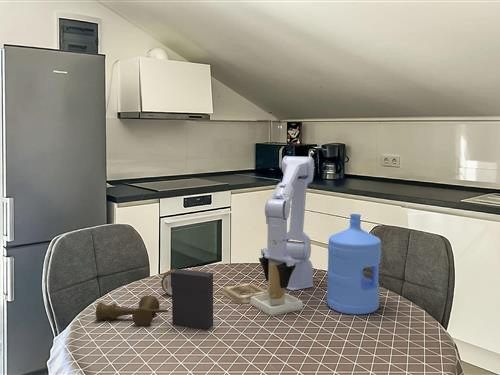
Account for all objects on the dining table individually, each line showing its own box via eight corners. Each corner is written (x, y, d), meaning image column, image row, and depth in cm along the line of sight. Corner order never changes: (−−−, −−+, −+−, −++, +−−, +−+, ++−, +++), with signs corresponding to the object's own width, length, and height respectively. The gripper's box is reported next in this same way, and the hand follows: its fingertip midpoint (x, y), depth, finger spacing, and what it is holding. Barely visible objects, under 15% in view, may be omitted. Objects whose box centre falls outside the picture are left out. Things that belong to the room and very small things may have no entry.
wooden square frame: (250, 288, 167) (250, 282, 167) (269, 298, 158) (269, 292, 158) (221, 294, 162) (221, 288, 161) (239, 304, 152) (239, 298, 152)
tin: (209, 295, 160) (208, 269, 159) (207, 298, 157) (207, 272, 156) (163, 293, 162) (162, 268, 161) (160, 296, 159) (160, 271, 158)
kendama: (103, 315, 145) (172, 314, 145) (92, 329, 136) (165, 328, 135) (102, 295, 144) (171, 294, 144) (90, 308, 135) (164, 307, 134)
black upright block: (214, 325, 136) (214, 272, 134) (208, 331, 132) (207, 276, 130) (178, 320, 140) (177, 268, 138) (171, 326, 136) (170, 272, 134)
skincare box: (267, 297, 153) (268, 258, 152) (281, 296, 153) (282, 257, 152) (270, 304, 147) (270, 263, 145) (285, 304, 147) (285, 263, 146)
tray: (280, 298, 158) (280, 290, 158) (302, 309, 149) (302, 301, 148) (250, 304, 152) (250, 296, 152) (271, 316, 143) (271, 308, 142)
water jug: (323, 312, 146) (325, 218, 143) (329, 295, 161) (331, 209, 158) (378, 318, 142) (382, 221, 139) (379, 299, 157) (383, 212, 154)
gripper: (252, 236, 152) (252, 279, 154) (280, 246, 140) (279, 293, 141) (271, 233, 156) (271, 276, 157) (300, 243, 143) (299, 288, 145)
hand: (276, 283), depth 149 cm, fingers closed on skincare box, 7 cm apart
